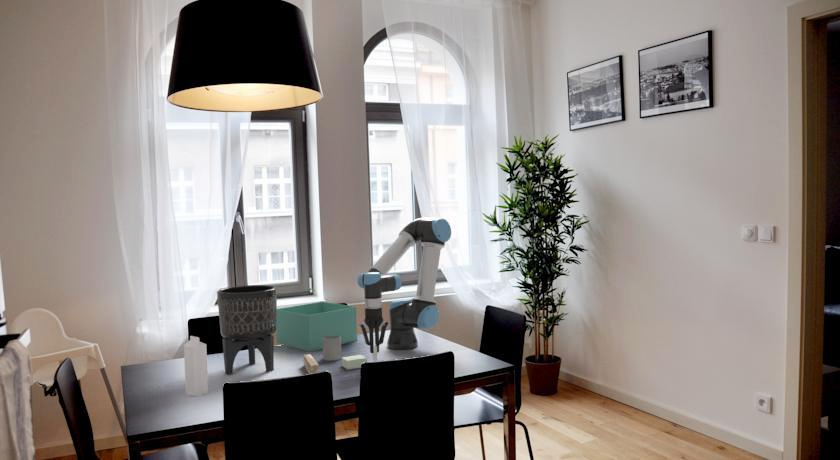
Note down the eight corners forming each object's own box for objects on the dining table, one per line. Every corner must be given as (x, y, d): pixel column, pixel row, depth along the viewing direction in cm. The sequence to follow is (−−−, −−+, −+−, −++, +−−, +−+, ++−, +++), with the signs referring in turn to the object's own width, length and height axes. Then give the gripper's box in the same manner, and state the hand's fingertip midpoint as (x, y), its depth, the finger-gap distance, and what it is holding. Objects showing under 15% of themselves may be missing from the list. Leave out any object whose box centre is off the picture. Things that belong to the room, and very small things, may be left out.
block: (361, 363, 275) (360, 354, 274) (366, 367, 268) (366, 358, 268) (342, 366, 271) (341, 357, 271) (347, 370, 264) (346, 360, 264)
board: (310, 365, 273) (310, 354, 273) (318, 376, 254) (318, 364, 254) (303, 366, 272) (303, 354, 272) (311, 377, 253) (311, 365, 253)
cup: (337, 360, 279) (336, 339, 279) (320, 360, 281) (319, 338, 281) (343, 356, 288) (342, 335, 287) (327, 355, 289) (326, 334, 289)
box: (323, 333, 341) (322, 301, 340) (357, 340, 320) (356, 306, 319) (276, 343, 320) (275, 309, 319) (309, 351, 299) (308, 315, 298)
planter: (290, 363, 277) (287, 285, 275) (258, 379, 253) (255, 293, 251) (243, 360, 285) (240, 284, 283) (208, 375, 261) (204, 292, 260)
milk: (199, 390, 240) (197, 334, 239) (208, 392, 237) (206, 335, 236) (185, 394, 235) (183, 337, 235) (194, 396, 232) (192, 338, 231)
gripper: (385, 304, 277) (386, 356, 278) (356, 307, 273) (358, 359, 274) (389, 307, 270) (391, 360, 271) (361, 309, 266) (362, 363, 267)
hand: (374, 360), depth 273 cm, fingers closed
